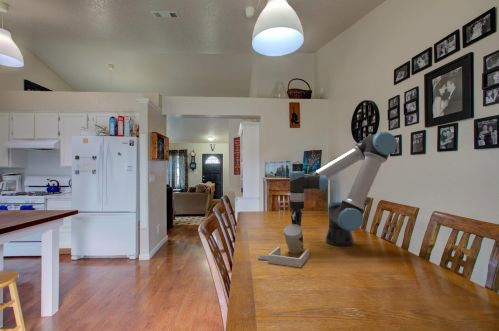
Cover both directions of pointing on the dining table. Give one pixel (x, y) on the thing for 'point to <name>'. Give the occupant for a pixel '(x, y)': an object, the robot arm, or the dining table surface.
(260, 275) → the dining table surface
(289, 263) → the frame
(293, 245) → the coffee cup
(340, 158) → the robot arm
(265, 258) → the slate tile
